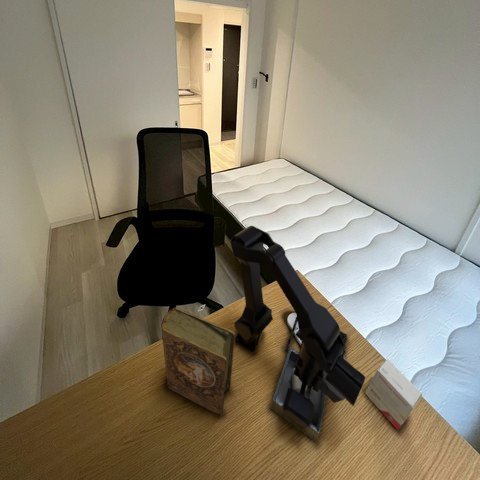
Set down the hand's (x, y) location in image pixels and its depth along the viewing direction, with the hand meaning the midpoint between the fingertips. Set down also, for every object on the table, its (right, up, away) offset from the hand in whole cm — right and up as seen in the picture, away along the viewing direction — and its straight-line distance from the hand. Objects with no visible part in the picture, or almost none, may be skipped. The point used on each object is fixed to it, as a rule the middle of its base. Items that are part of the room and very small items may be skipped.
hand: (300, 390), depth 64 cm
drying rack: (+8, +3, +12) cm, 14 cm away
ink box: (+22, -4, 0) cm, 22 cm away
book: (-27, 0, 0) cm, 27 cm away
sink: (0, -1, +1) cm, 2 cm away
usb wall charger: (0, -1, 0) cm, 1 cm away
